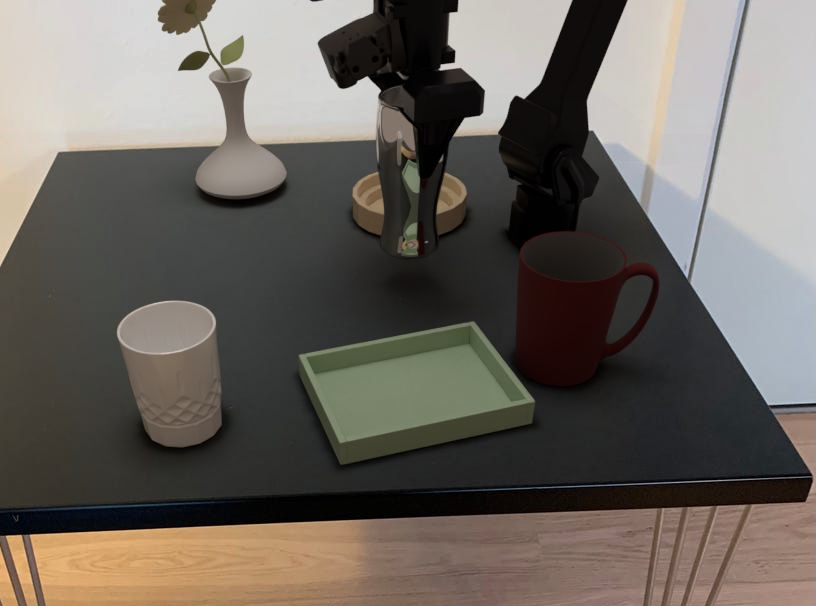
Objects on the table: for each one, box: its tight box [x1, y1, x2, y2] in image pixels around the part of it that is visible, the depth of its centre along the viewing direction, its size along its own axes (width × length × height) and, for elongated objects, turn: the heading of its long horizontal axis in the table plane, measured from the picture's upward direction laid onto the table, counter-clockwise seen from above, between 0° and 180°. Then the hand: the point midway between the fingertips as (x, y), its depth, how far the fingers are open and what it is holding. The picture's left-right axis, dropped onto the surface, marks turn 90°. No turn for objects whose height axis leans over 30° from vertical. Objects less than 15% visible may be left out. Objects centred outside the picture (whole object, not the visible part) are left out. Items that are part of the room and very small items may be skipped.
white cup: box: [116, 300, 223, 448], centre depth 75 cm, size 8×8×10 cm
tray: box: [298, 320, 536, 466], centre depth 80 cm, size 17×13×2 cm
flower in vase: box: [157, 0, 288, 200], centre depth 105 cm, size 13×11×25 cm
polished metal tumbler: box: [375, 84, 450, 260], centre depth 87 cm, size 7×7×15 cm
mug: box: [514, 231, 660, 387], centre depth 80 cm, size 12×9×11 cm
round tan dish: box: [352, 171, 468, 236], centre depth 106 cm, size 13×13×3 cm
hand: (412, 162), depth 87 cm, fingers closed on polished metal tumbler, 7 cm apart
